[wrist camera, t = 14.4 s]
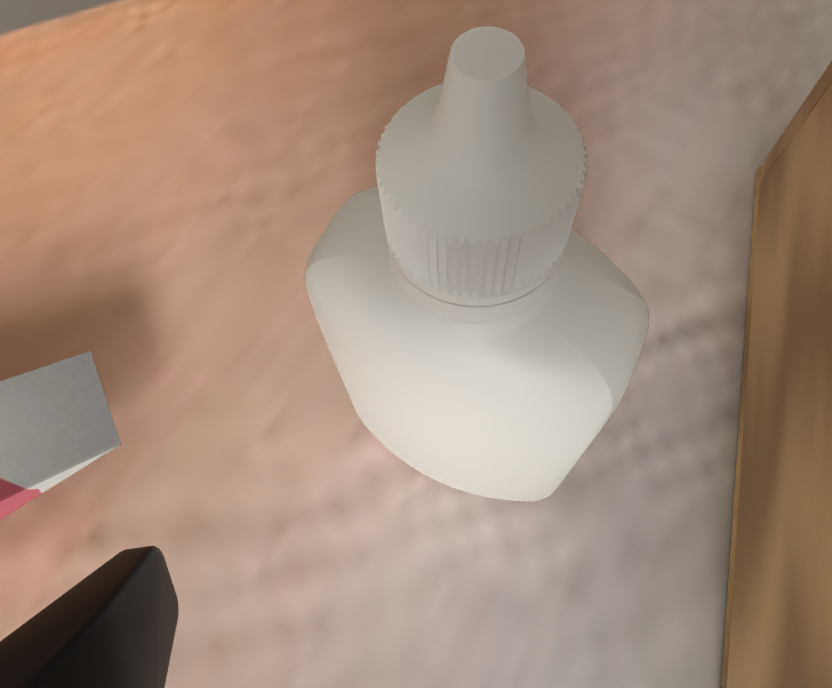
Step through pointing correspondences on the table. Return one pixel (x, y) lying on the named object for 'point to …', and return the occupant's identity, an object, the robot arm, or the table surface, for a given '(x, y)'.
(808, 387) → the crate
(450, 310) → the eye dropper bottle
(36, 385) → the cricket bat
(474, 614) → the table surface
